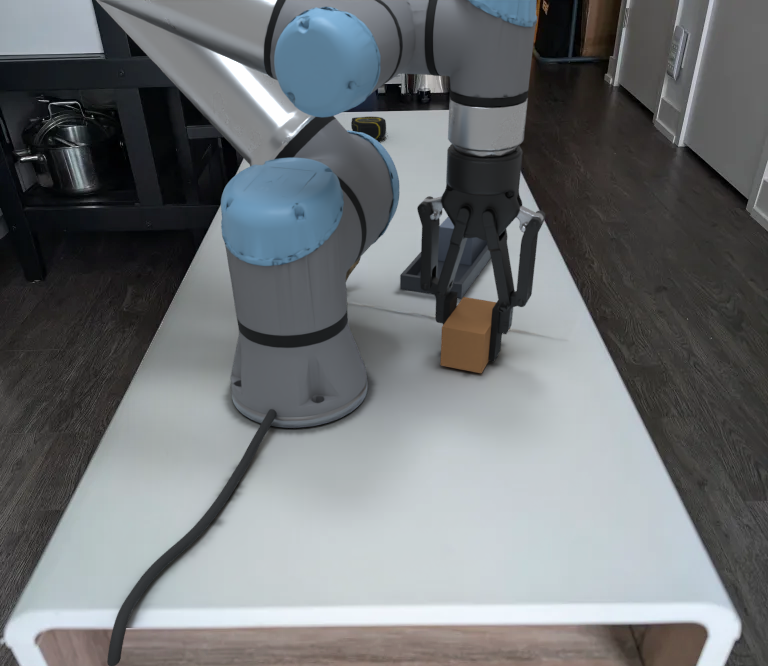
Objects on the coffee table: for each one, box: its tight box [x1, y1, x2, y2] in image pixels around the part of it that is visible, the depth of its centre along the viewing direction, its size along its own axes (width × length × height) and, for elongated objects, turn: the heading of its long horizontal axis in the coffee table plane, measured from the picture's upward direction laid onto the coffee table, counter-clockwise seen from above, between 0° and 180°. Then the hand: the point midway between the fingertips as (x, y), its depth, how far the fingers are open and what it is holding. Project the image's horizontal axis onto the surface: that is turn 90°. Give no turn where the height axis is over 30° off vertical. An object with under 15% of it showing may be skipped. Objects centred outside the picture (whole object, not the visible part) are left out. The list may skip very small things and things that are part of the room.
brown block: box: [439, 296, 497, 374], centre depth 93 cm, size 8×5×5 cm, turn 158°
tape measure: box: [350, 116, 387, 140], centre depth 161 cm, size 7×7×4 cm
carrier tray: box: [399, 245, 491, 300], centre depth 113 cm, size 20×9×2 cm, turn 158°
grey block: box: [438, 216, 487, 265], centre depth 115 cm, size 8×5×5 cm, turn 158°
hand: (471, 350), depth 95 cm, fingers closed on brown block, 5 cm apart
